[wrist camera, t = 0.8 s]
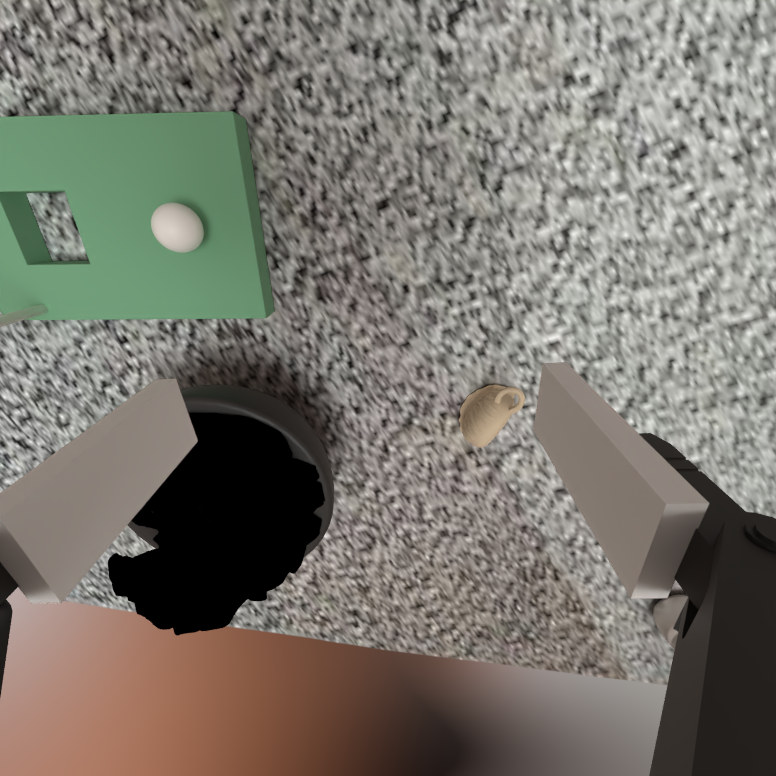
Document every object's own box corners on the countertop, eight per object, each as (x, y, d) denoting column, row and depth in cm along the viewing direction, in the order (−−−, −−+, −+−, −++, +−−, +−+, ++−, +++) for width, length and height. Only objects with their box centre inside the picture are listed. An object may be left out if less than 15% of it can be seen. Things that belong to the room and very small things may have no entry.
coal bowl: (172, 487, 45) (36, 655, 28) (160, 333, 36) (-47, 442, 19) (334, 514, 46) (297, 691, 29) (360, 371, 38) (329, 505, 21)
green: (-54, 126, 29) (-520, 41, 14) (245, 119, 28) (79, 22, 14) (29, 313, 36) (-232, 387, 21) (274, 311, 35) (183, 386, 20)
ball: (162, 203, 29) (133, 202, 26) (206, 202, 29) (182, 201, 26) (174, 250, 30) (148, 255, 27) (216, 249, 30) (195, 254, 27)
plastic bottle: (701, 587, 50) (869, 797, 32) (686, 618, 53) (832, 826, 35) (653, 587, 51) (793, 796, 33) (640, 618, 54) (762, 825, 36)
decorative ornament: (446, 422, 40) (453, 451, 35) (495, 361, 37) (510, 385, 32) (476, 439, 41) (487, 470, 36) (527, 381, 38) (546, 407, 33)
